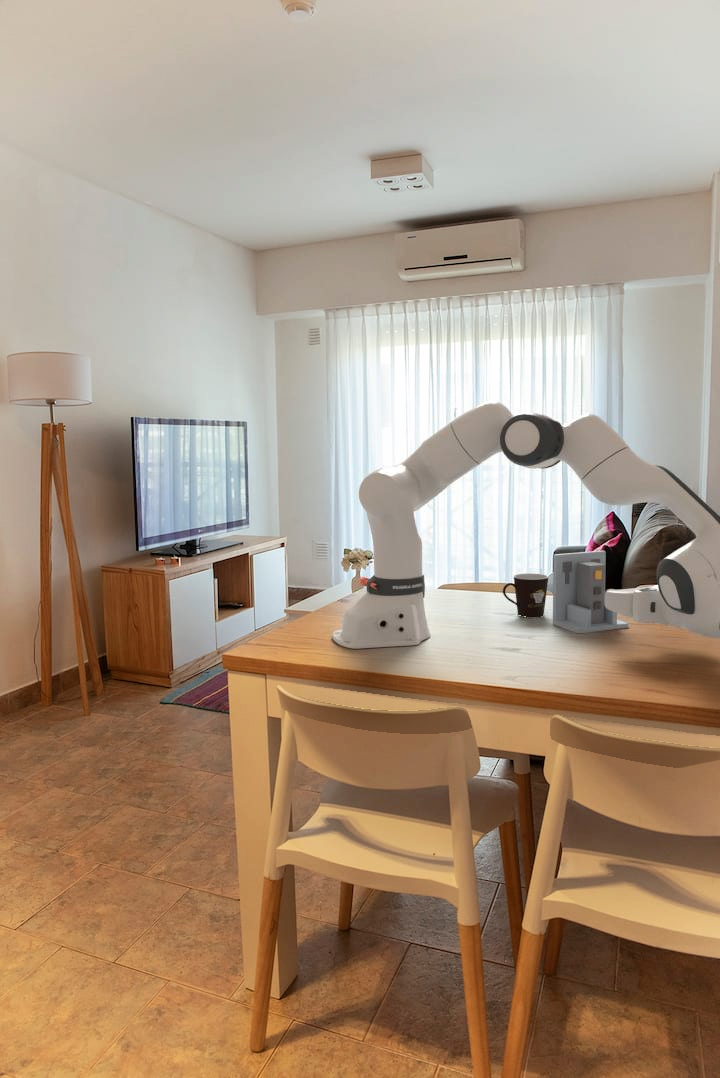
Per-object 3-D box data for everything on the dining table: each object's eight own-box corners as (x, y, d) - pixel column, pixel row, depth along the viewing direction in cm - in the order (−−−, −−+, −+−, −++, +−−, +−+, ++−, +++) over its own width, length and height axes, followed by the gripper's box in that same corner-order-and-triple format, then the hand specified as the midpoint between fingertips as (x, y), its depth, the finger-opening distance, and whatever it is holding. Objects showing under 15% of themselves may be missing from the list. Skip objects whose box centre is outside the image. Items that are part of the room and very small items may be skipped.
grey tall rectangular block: (590, 625, 173) (591, 566, 172) (576, 620, 179) (577, 562, 177) (605, 623, 175) (606, 564, 173) (590, 618, 180) (591, 561, 178)
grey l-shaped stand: (577, 633, 170) (578, 560, 168) (552, 624, 180) (553, 554, 177) (628, 627, 175) (629, 555, 173) (601, 618, 184) (602, 550, 182)
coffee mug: (545, 611, 193) (545, 573, 192) (550, 619, 185) (550, 579, 183) (500, 611, 194) (500, 573, 193) (503, 619, 186) (503, 579, 185)
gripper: (713, 584, 154) (665, 573, 166) (632, 592, 147) (588, 580, 160) (712, 614, 154) (664, 601, 167) (631, 623, 148) (588, 609, 161)
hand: (627, 591), depth 163 cm, fingers open, 8 cm apart
